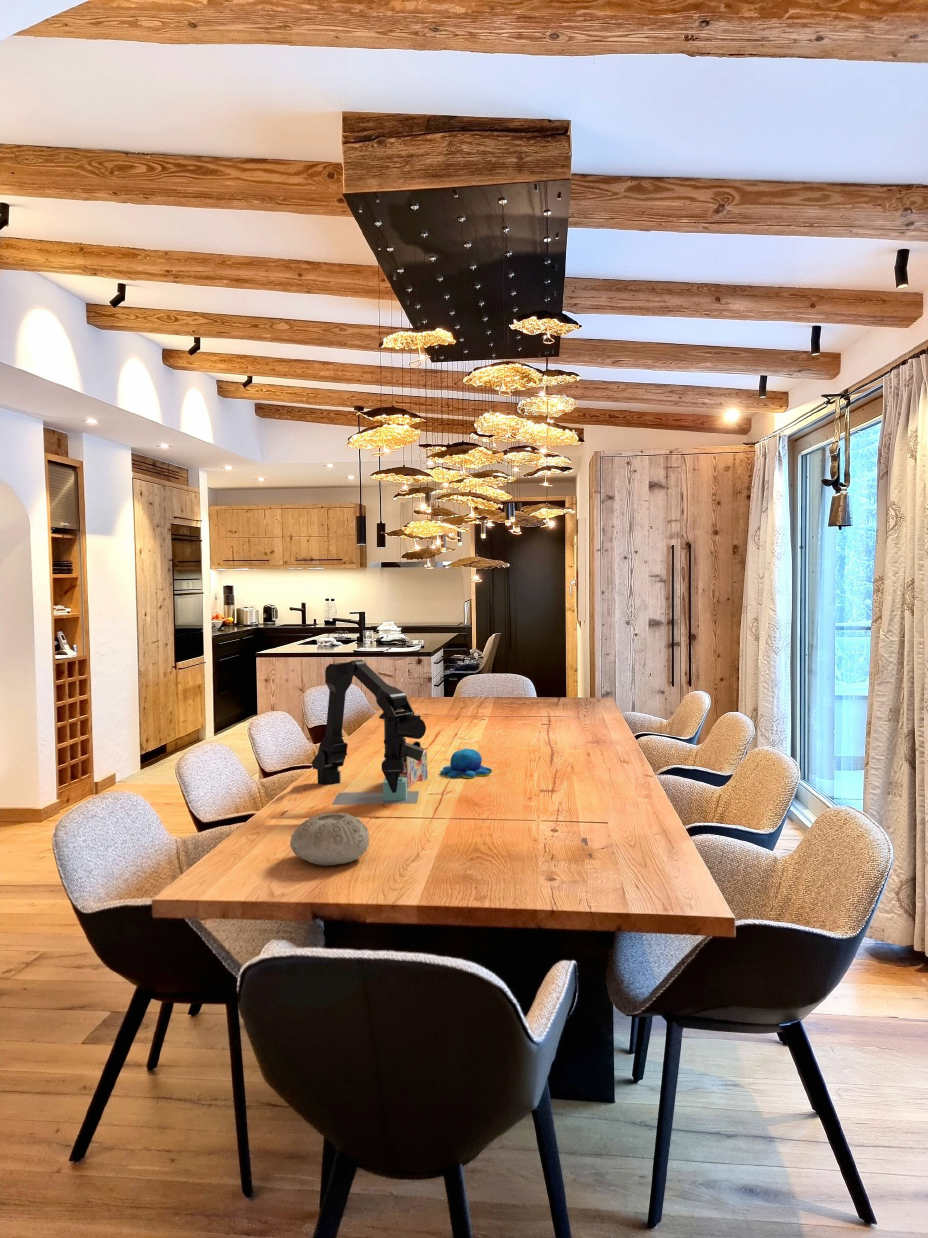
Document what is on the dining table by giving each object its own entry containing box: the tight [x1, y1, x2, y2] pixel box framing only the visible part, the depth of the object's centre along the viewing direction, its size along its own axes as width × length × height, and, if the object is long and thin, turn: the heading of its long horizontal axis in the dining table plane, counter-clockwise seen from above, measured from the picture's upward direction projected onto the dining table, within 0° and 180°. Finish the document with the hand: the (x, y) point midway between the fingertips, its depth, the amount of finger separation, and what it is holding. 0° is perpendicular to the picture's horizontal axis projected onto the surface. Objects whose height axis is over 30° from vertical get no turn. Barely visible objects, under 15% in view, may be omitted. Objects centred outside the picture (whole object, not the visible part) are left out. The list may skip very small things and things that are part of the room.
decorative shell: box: [289, 811, 370, 867], centre depth 196 cm, size 18×18×10 cm
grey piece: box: [331, 790, 420, 806], centre depth 247 cm, size 24×14×6 cm, turn 91°
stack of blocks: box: [399, 750, 428, 790], centre depth 269 cm, size 21×6×12 cm, turn 166°
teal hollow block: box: [382, 777, 408, 800], centre depth 247 cm, size 6×6×5 cm
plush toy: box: [439, 748, 493, 779], centre depth 285 cm, size 17×17×8 cm
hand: (395, 788), depth 247 cm, fingers open, 9 cm apart
